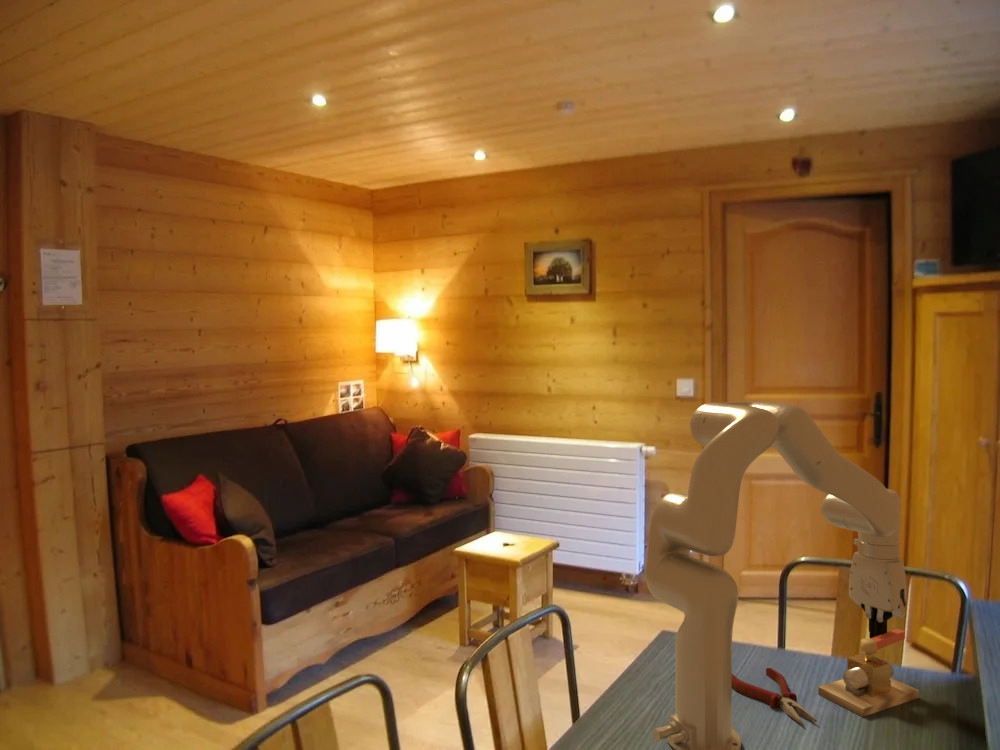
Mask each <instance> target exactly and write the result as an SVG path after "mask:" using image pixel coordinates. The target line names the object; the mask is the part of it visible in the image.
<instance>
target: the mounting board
mask: <svg viewBox="0 0 1000 750" xmlns="http://www.w3.org/2000/svg"><path fill="white" fill-rule="evenodd" d="M890 680H891V687H890V692H887V693H884V694H881V695H878V696H875V697H871V696H869V695H866V694H865V695H863V696H860V697H858V696H856V695H854V694H852V693H850V692H848V691H846V684H845V682H844V680H843V678H842V679H839V680H836V681H832V682H829V683H825V684H822V685H820V686H818V689H817V690H818V695H819V696H822V697H823V698H826V699H827V700H829V701H831V702H833V703H835V704H837V705H839V706H841V707H843V708H845V709H846V710H848V711H851V712H852V713H854V714H856V715H858V716H861V717H862V718H863V717H867V716H870V715H872V714H876V713H878V712H881V711H884V710H886V709H890V708H893V707H895V706H899V705H901V704H905V703H908V702H910V701H914V700H917V699H919V698H920V697H919V695H920V690H919V689H917V688H914V687H912V686H911V685H908V684H906V683H904V682H901V681H899V680H896V679H894V678H893V677H892V678H890Z"/></svg>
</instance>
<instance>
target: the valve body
mask: <svg viewBox="0 0 1000 750" xmlns="http://www.w3.org/2000/svg"><path fill="white" fill-rule="evenodd" d="M894 672H895V670H894V668H893V666H892V664H891V663H890V662H889V661H887V660H885V659H881V658H879V657H876V656H874V653H873V654H871V653H866V652H862V653H859V654H854V655H852V656H849V657H847V668H846V670H844V671H843V673H842V679H843V680H844V682H845V684H846V691H848V692H850V693H852V694H854V695H856V696H858V697H860V696H863V695H865V694H866V695H869V696H871V697H875V696H878V695H881V694H884V693H887V692H890V687H891V680H890V678H892V679H893V677H894Z"/></svg>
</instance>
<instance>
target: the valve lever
mask: <svg viewBox="0 0 1000 750" xmlns="http://www.w3.org/2000/svg"><path fill="white" fill-rule="evenodd" d="M905 639H906V630H903V629H899V628H895V629H892V630H891V631H887V633H884V634H882V635H879V636H876V637H873V638H861V640H860V651H862V653H865V652H866V653H871V654H873V655H874V654H876V653H877V652H878V650H880V649H883V648H885V647H888V646H891V645H894V644H896V643H898V642H899V643H900V642H901V641H904V640H905Z"/></svg>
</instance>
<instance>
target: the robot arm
mask: <svg viewBox="0 0 1000 750" xmlns="http://www.w3.org/2000/svg"><path fill="white" fill-rule="evenodd" d="M690 417H691V418H690V421H689V422H690V423H689V429H690V432H691V436H692V437H693V439H694V441H695V442H696V443H698V444H699V445H700V446H702V447H703V448H702V450H701V451H700V453H699V454H698V455H697V457H696V458H695V460H694V462H693V465H692V469H691V471H690V478H689V483H688V491H687V493H686V492H679V491H677V492H676V491H675V492H674V491H673V492H670V493H667V494H665V495H664V496H662V498H661V499H659V501H658V502H657V503H656V505H655V507H654V508H653V511H652V514H651V517H650V524H649V531H648V542H647V550H646V551H647V553H646V560H645V561H646V563H645V583H646V586H647V589H648V590H649V592H650V594H651V595H652V596H653V597H654V598H655V599H656V600H658V601H660V602H662V603H664V604H666V605H668V606H670V607H672V608H673V609H677V610H678V611H680V612H681V613H683V614H684V617H683V618H684V619H683V621H682V622H681V624H680V626H679V628H678V629H677V632H676V634H675V635H676V636H675V643H674V644H675V645H674V649H675V651H674V652H675V657H674V658H675V659H674V661H675V668H674V669H675V670H674V671H675V675H674V676H675V677H674V678H675V680H674V683H675V684H674V686H675V689H674V690H675V691H674V694H675V695H674V696H675V699H674V700H675V713H674V714H671V715H670V722H668V723H667V724H666V725H665V726H660V727H657V728H654V729H653V730H652V736H653V738H654V740H655V741H657V742H659V741H662V740H667V742H668V744H669V745H670V747H672V748H673V749H674V750H741V748H742V747H741V746H742V738H741V736H740V734H739V733H738V732H737V731H736V730H735V729H734V728H733V727H732V721H733V719H732V715H733V714H732V712H733V711H732V710H733V709H732V706H733V705H732V701H733V700H732V699H733V697H732V694H733V693H732V691H733V688H732V674H733V673H732V672H733V669H732V668H733V664H732V663H733V657H732V656H733V629H734V621H735V616H736V611H737V607H738V602H739V588H738V585H737V583H736V581H735V579H734V577H733V576H732V575H731V573H729V572H728V571H727V570H725V569H723V568H722V567H720V566H718V565H715V564H713V563H711V562H707V561H705V560H702V559H699V558H697V557H693V556H691V551H692V552H695V553H698V554H699V555H705V556H709V557H715V558H718V557H723V556H725V555H727V554H728V553H729V552H730V551H731V549H732V547H733V544H734V541H735V537H736V531H737V520H738V511H739V509H738V508H739V500H740V492H741V485H742V480H743V478H744V475H745V473H746V471H747V469H748V468H749V467H750V465H752V463H753V462H754V461H755V460H756V459H757V458H758V457H760V456H761V455H762V454H764V453H765V452H766V451H768V450H769V448H774V449H775V450H776V451H777V453H778V454H779V455H780V456H781V457H782V458H783V460H784V462H786V464H788V467H790V468H791V470H792V471H793V472H794V473H795V475H796V476H797V477H798V478H799V480H800V481H802V482H803V483H805V484H806V485H808V486H810V487H812V488H813V489H816V490H817V491H820V492H821V493H824V494H827V495H826V496H825V497H824V498H823V500H822V503H821V507H820V509H821V515H822V517H823V518H824V519H825V521H826V522H828V523H829V524H830V525H832V526H834V527H837V528H840V529H844V530H849V531H851V532H857V535H858V537H857V538H854V539H853V544H854V545H855V546H857V551H855V552H854V553H853V556H852V561H851V566H850V571H849V580H848V581H849V582H848V583H849V584H848V596H849V597H850V598H851V600H852V602H854V603H855V604H856V605H857V606H859V607H861V608H862V610H863V611H864V613H865V617H866V618H867V619H868V632H869V635H868V636H869V639H871V638H873V637H876V636H879V635H882V634H884V633H887V632H888V621H890V620H891V619H892V618H895V619H897V618H898V619H900V618H903V617H906V612H905V608H906V607H907V600H908V591H907V579H906V578H907V577H906V570H905V566H904V561H903V559H901V556H900V555H901V553H900V551H901V549H900V547H901V545H900V542H901V541H900V540H901V530H900V529H901V498H900V495H899V493H898V492H897V491H896V490H893V489H891V488H886V486H885V485H884V484H883V483H882V482H881V481H880V480H879V479H878V478H877V477H875V476H874V475H872V474H871V473H869V472H868V471H866V470H865V469H864V468H862V467H861V466H859V465H858V464H856V463H854V462H853V461H851V460H850V459H848V458H847V457H845V456H844V455H842V454H840V453H839V452H838V451H837V450H836V449H835V448H834V446H833V445H832V443H831V442H830V441H829V439H828V438H827V437H826V435H825V434H824V433H823V431H822V430H821V429H820V427H819V426H818V425H817V423H816V422H815V421H814V420H813V417H811V415H810V414H809V413H808V412H807V411H806V410H805V409H804V408H803V407H801V406H798V405H796V404H792V403H786V402H773V401H761V400H751V401H749V400H748V401H747V400H746V401H724V402H723V401H721V402H718V401H716V402H715V401H714V402H712V401H711V402H706V403H704V404H702V405H700V406H699V407H698V408H696V409H695V410H694V412H693V413H692V415H691V416H690Z"/></svg>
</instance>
